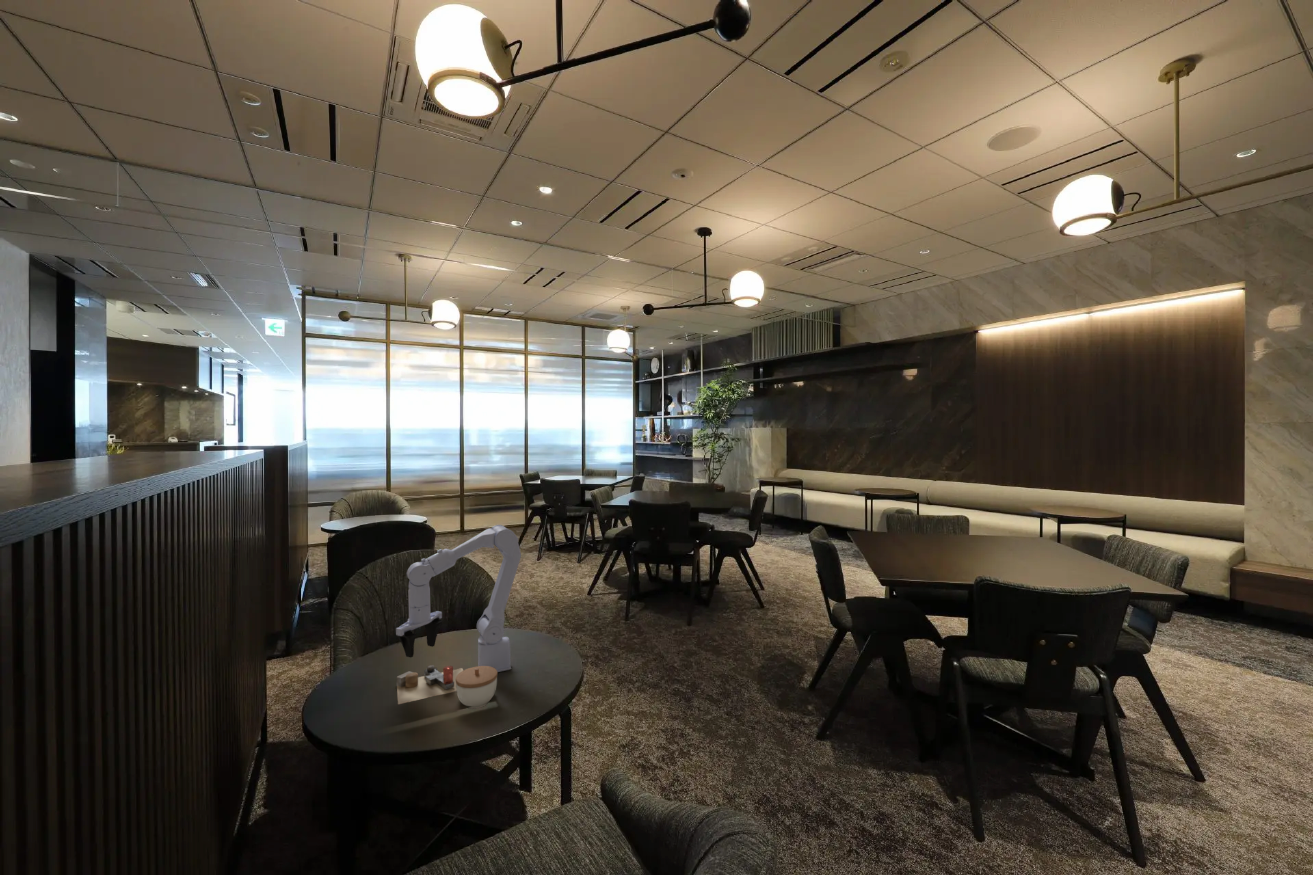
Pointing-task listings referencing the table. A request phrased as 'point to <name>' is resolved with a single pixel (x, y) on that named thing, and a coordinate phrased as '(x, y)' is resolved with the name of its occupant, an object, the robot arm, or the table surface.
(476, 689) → the lidded jar
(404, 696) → the board
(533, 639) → the table surface
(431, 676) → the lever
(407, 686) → the cork
